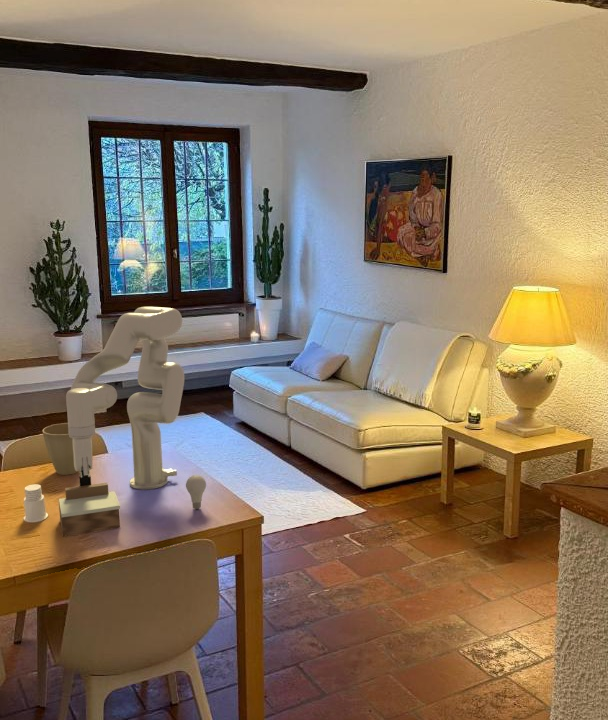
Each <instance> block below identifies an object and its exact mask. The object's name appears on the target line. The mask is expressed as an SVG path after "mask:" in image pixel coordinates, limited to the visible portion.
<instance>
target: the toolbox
mask: <svg viewBox="0 0 608 720" xmlns="http://www.w3.org/2000/svg"><path fill="white" fill-rule="evenodd" d="M109 492H111V491H109ZM61 498H62V497H61ZM61 498H59V499H61ZM58 510H59V522H60V528H61V535H62V538H64V537H71V536H77V535H83V534H89V533H96V532H103V531H108V530H109V531H110V530H115V529H120V528H121V519H120V509H116V510H109V511H102V512H95V513H89V514H82V515H75V516H68V517H62V516H61V510H60V504H59V503H58Z"/></svg>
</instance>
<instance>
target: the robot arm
mask: <svg viewBox="0 0 608 720" xmlns="http://www.w3.org/2000/svg"><path fill="white" fill-rule="evenodd" d="M182 325H183V317H182V314H181V312H180V311H179V310H178V309H176V308H173V307H172V308H171V307H161V306H141V307H137V308H136V309H135V310H134V311H133V312H127V313H124V314H121V316H120V317H119V318H118V319H117V321H116V324H115V326H114V328H113V330H112V332H111V334H110V336H109V338H108V340H107V342H106V343H105V346H104V347H103V350H102V351H101V352H99V353H97V354H95V355H94V356H93V357H91V358H90V359H89V360H88V361H87V362H86V363H84V364H83V365H82V366H81V367H80V369H79V371H78V372H77V373H76V376H75V378H74V380H73V382H72V384H71V387H70V389H69V390H67V392H66V394H65V401H66V413H67V415H66V416H67V423H68V431H69V437H70V438H73V440H72V441H73V460H74V467H75V470H76V471H78V472H79V477H78V478H79V486H85V485H92V478H91V477H92V476H91V470H92V469H93V443H92V441H93V440H92V437H94V436H95V435H96V425H95V424H96V423H95V411H99V410H107V409H109V408H111V407H113V406H114V404H115V403H116V402H117V399H118V392H117V390H116V388H115V387H114V386H113V385H110V384H107V383H101V382H100V383H99V382H96V380H97V379H98V378H99V377H100V376H102V375H103V374H105V373H107V372H109V371H113V370H115V369H118V368H120V367H123V366H125V365H127V364H129V362H130V360H131V358H132V355H133V353H134V351H135V349H136V347H137V345H138V343H139V341H141V342H142V350H141V356H140V360H139V366H138V371H137V383H138V384H139V386H141V387H142V388H146V389H152V390H159V391H161V392H162V393H156V392H146V391H139V392H135V393H133V394H132V395H130V397H128V400H127V403H126V410H127V411H126V412H127V415H128V418H129V423H130V428H131V442H132V443H131V444H132V461H133V463H132V464H133V476H134V477H132V478H131V479H130V480H129V486H130V487H131V488H133V489H137V490H145V491H146V490H154V489H159V488H161V487H163V486H165V485H167V484H168V482H169V479H168V477H175V476H178V472H177V469H172V468H168V469H165V468H164V467H163V450H162V433H161V428H160V426H159V424H163V425H164V424H165V425H167V424H168V425H169V424H172V423H174V422H175V421H176V419H177V418H178V416H179V413H180V408H181V401H182V398H183V397H182V396H183V392H184V386H185V371H184V369H183V367H182V366H181V365H180V364H179V363H178V362H174V361H171V362H170V361H167V359H168V353H169V345H168V342H167V340H166V337H169V336H173V335H176V333H178V332H179V330H180V329H181V328H182Z"/></svg>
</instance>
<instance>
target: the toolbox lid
mask: <svg viewBox="0 0 608 720" xmlns="http://www.w3.org/2000/svg"><path fill="white" fill-rule="evenodd" d="M64 489H65V497H61V499H60V498H58V505H59V504H60V510H61V516H62V517H68V516H75V515H82V514H89V513H95V512H102V511H109V510H116V509H119V510H121V505H120V502H119V499H118V496H117V494H116V492H115V490H112V491H111V492H110V491H109V484H108V482H100V483H94V484H91V485H85V486H80V485H79V486H72V487H71V486H70V487H65V488H64Z"/></svg>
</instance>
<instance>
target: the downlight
mask: <svg viewBox="0 0 608 720" xmlns="http://www.w3.org/2000/svg"><path fill="white" fill-rule="evenodd" d="M24 494H25V495H24V498H23V507H24V515H25V516H23V521H25V522H26V523H39V522H43V521H44V520H46V519H48V517H49V514H48V512H46V503H45V495H44V494H42V485H41V484H35V483H33V484H29V485H27V486H25V487H24Z"/></svg>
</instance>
